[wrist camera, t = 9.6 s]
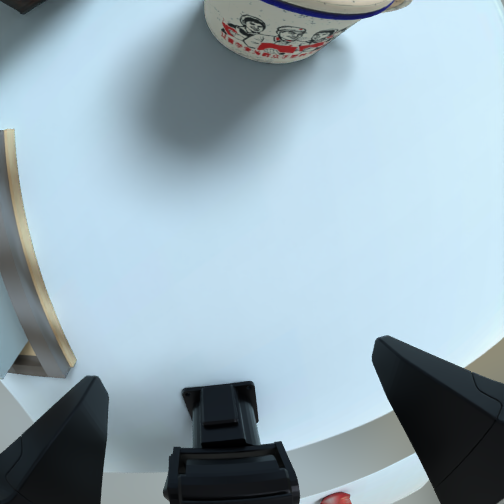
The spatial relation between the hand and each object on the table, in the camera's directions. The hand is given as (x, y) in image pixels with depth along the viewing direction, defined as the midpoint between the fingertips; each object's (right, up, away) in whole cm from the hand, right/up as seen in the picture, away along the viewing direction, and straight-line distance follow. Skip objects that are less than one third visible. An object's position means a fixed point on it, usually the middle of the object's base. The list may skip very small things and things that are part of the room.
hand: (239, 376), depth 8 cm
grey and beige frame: (-21, +3, +9) cm, 22 cm away
